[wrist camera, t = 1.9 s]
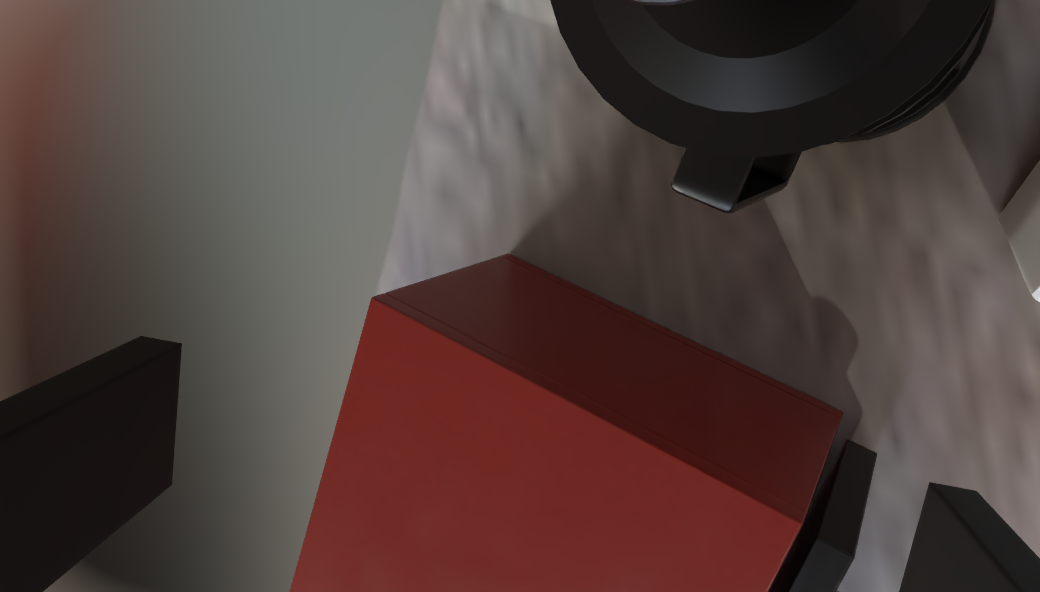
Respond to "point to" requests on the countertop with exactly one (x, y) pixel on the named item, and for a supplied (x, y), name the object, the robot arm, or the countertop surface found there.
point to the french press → (769, 76)
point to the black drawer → (830, 526)
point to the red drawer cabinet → (554, 450)
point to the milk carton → (1025, 229)
